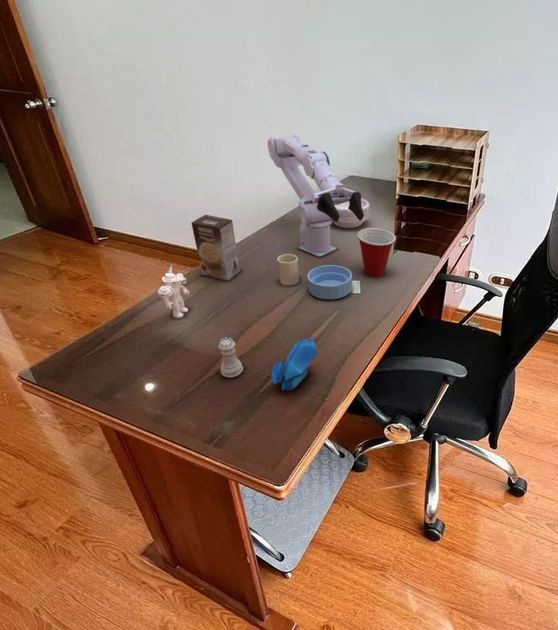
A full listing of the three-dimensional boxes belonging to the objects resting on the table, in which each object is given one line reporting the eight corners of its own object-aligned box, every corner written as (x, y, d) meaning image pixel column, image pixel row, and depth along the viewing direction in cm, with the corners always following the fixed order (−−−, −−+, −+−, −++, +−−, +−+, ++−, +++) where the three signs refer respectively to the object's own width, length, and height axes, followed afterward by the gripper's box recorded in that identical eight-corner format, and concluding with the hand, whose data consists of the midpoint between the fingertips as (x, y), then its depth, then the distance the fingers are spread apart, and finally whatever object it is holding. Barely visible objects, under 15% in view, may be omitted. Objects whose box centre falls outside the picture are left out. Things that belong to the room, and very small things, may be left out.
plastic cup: (390, 283, 124) (392, 244, 117) (353, 278, 125) (353, 240, 119) (396, 266, 133) (398, 229, 126) (361, 262, 134) (362, 225, 128)
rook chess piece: (223, 365, 93) (216, 334, 88) (244, 364, 93) (239, 334, 89) (219, 379, 89) (212, 348, 85) (241, 378, 89) (235, 347, 85)
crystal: (258, 368, 82) (290, 324, 89) (269, 394, 88) (298, 351, 96) (292, 379, 79) (322, 333, 87) (301, 405, 86) (328, 360, 93)
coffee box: (200, 275, 125) (189, 222, 116) (214, 265, 130) (204, 214, 121) (228, 281, 123) (218, 227, 114) (241, 271, 128) (232, 218, 119)
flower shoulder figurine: (182, 302, 113) (172, 261, 106) (196, 304, 112) (186, 262, 106) (162, 322, 105) (149, 278, 99) (177, 324, 105) (165, 280, 98)
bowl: (299, 290, 119) (298, 276, 117) (329, 274, 127) (329, 261, 125) (331, 305, 113) (330, 291, 111) (360, 288, 121) (360, 274, 118)
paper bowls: (376, 221, 162) (377, 200, 158) (353, 235, 151) (353, 213, 147) (343, 213, 169) (343, 192, 164) (318, 225, 158) (317, 203, 154)
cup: (275, 281, 123) (273, 258, 119) (290, 274, 127) (288, 252, 123) (288, 287, 120) (286, 264, 117) (303, 280, 124) (301, 258, 120)
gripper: (309, 172, 115) (330, 207, 109) (355, 172, 123) (377, 205, 117) (302, 193, 120) (322, 228, 114) (347, 192, 128) (368, 225, 122)
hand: (349, 218), depth 116 cm, fingers open, 7 cm apart
